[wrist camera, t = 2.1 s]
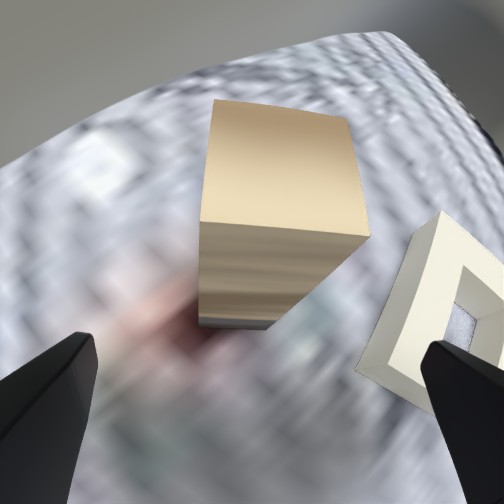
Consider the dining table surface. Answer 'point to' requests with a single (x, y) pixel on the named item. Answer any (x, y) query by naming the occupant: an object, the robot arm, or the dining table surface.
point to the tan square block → (274, 211)
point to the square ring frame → (435, 307)
